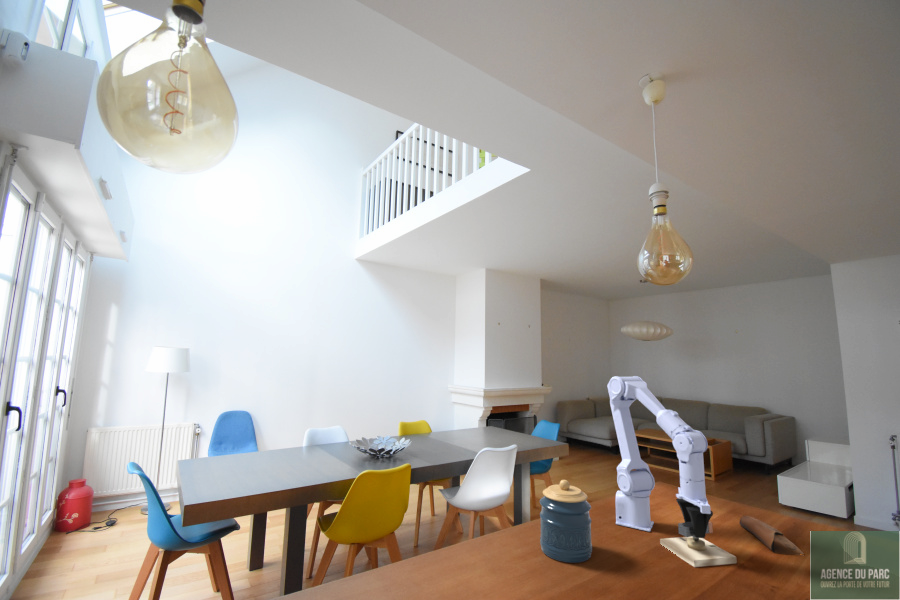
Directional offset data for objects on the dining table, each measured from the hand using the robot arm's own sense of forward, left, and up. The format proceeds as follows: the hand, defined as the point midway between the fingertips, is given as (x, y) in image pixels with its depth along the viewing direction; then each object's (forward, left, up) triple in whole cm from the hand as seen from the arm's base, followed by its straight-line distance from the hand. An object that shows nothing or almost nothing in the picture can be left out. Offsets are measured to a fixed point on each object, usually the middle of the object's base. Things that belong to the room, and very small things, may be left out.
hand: (695, 533), depth 107 cm
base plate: (0, 0, -5) cm, 5 cm away
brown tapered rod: (+17, +22, -6) cm, 28 cm away
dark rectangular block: (0, 0, -2) cm, 2 cm away
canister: (-28, -19, -5) cm, 34 cm away
